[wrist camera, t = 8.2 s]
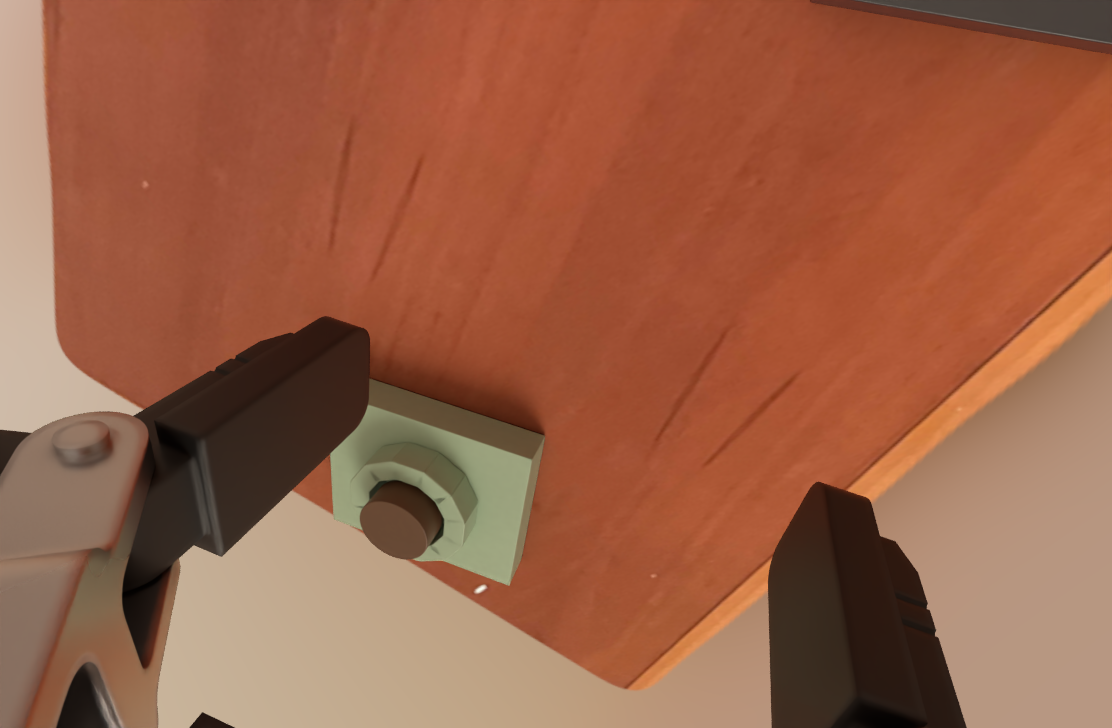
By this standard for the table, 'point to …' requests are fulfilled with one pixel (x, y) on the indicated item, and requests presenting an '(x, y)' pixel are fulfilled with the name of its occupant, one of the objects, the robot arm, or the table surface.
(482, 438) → the doorbell
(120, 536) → the robot arm
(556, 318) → the table surface
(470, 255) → the table surface
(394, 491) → the bell button
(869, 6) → the plate
